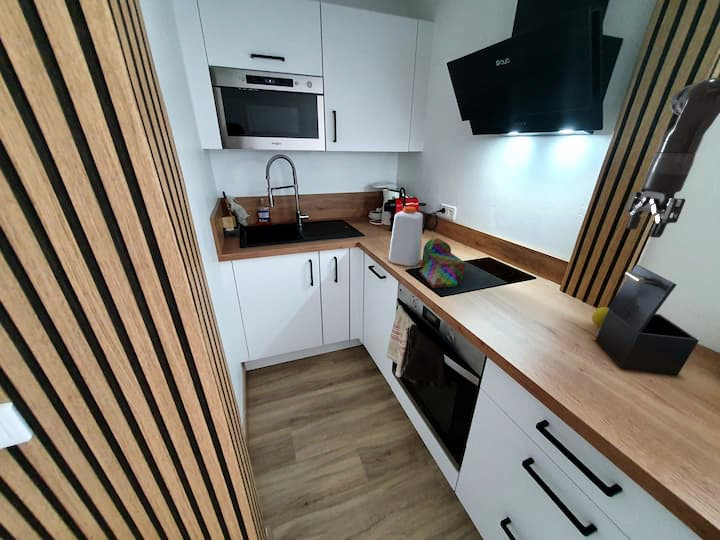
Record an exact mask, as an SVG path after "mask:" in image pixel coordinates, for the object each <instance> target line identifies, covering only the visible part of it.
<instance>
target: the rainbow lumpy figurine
mask: <svg viewBox="0 0 720 540" xmlns="http://www.w3.org/2000/svg"><path fill="white" fill-rule="evenodd" d="M421 266H422V268H420V270H418V274H419V276H421V277H422V278H423V279H424V280H425V281H426V282H427V283H428V285H430V286H431V287H432V288H433V289H439V288H450V287H457V286H458V284H459V283H458V281H462V280H463V278H464V273H465V267H466V262H465V261H463V260H462V258H459V257H458V256H456V255H455V254H453V253H452V248H451V246H450V245H449V243H447V242H445V240H443V239H441V238H438V237H434V238H431V239H429V240H428V241H426V243H425V245H424V246H423V252H422V257H421Z"/></svg>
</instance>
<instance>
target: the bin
mask: <svg viewBox="0 0 720 540" xmlns="http://www.w3.org/2000/svg"><path fill="white" fill-rule="evenodd" d="M594 342H595V343H596V344H597V345H598V346H599V348H601V349H602V351H603V352H604V353H605V354H606V355H607V357H609V358H610V359H611V360H612V361H613V362H614V363H615V364H616V365H617V366H618V367H619V368H620V370H625V371H626V370H627V371H633V372H634V371H635V372H641V373H650V374H657V375H658V374H659V375H665V376H674V377H678V376H679V374H680V373H681V371H682V369H683V368H684V366H685V364H686V363H687V361H688V359H689V358H690V356H691V354H692V353H693V351H694V350H695V348H696V346H697V345H698V343H699V342H700V340H699V339H697V337H694V336H693V335H691V334H690V333H688V331H686V330H684V329H682V327H680V326H678V325H677V324H675V323H674V322H672V321H671V320H670V319H668V318H666V317H664V316H663V315H662V314H661V313H655V315H654V316H653V317H652V319H651V320H650V321H649V323H648V324H647V326H646V327H645V328H644V330H643V331H642V332H638V331H637V330H635V329H634V328H633V327H632V326H630V325H629V324H628V323H627V322H625V321H624V320H623V319H622V318H621V317H619V316H618V315H617V314H616V313H614V312H613V311H612V310H611V309H609V310H608V312H607V315H606V317H605V319H604V321H603V324H602V326H601V328H599V330H598V333H597V335H596V338H595V340H594Z"/></svg>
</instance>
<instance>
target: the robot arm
mask: <svg viewBox="0 0 720 540" xmlns="http://www.w3.org/2000/svg"><path fill="white" fill-rule="evenodd" d="M670 109H671V111H672V112H673V113H674V114H675V115H677V116H678V117H677V120H676V121H675V123H674V125H672V127H670V128H668V129H667V130H666V131H665V132H664V134H663V136H662V138H661V140H660V143H659V145H658V148H657V149H656V150H657V151H656V153H655V155H654V156H653V159H652V160H651V163H650V165H649V167H648V170H647V172H646V175H645V178H644V180H643V183H642V185H641V189H642V190H644V191H634V192H633V194H632V196H631V198H630V201H629V203H628V206H627V207H626V212H627V213H629V216H630V217H629V220H628V222H627V225H626V229H628V230H637V229H638V227H639V224H640V222H641V221H642V220H641V219H642V216H643V215H644V214H646V212H651V214H652V216H653V217H654V221H655V222H654V223H653V226H652V227H651V230H650V232H649V235H648V236H649V237H650V238H661V236H662V235H663V233H664V231H665V229H666V227H667V225H669V224H676V223H677V222H678V220H679V218H680V215H681V213H682V211H683V208H684V205H685V203H686V199H685V198H677V197H676V198H675V195H676V193H679V192H680V193H681V191H682V189H683V188H684V185H685V183H686V182H687V181H686V180H687V179H688V176H689V174H690V172H691V169H692V167H693V165H694V162H695V159H696V155H697V153H698V150H699V148H700V146H701V143H702V141H703V139H704V136H705V134H706V133H707V131H708V130H709V129H710V127H711V126H712V125H713V124H714V122H715V121H716V119H717V118H718V116H719V115H720V77H710V78H707V79H703V80H700V81H697V82H693V83H691V84H689V85H687V86H685V87H683V88H681V89H680V90H679V91H678V92H676V93H675V95H674V96H673V97H672V99H671V101H670ZM634 205H635V206H634ZM671 215H672V216H671Z"/></svg>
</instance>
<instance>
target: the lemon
mask: <svg viewBox="0 0 720 540" xmlns="http://www.w3.org/2000/svg"><path fill="white" fill-rule="evenodd" d="M608 307H609V306H606V307H598V308H597V309H595V311H594V312H593V313H592V315H591V320H592V323H593V324H594V325H595V326H596V327H597V329H600V328H601V326H602V324H603V321H604V319H605V317H606V315H607V312H608V310H609V308H608Z"/></svg>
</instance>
